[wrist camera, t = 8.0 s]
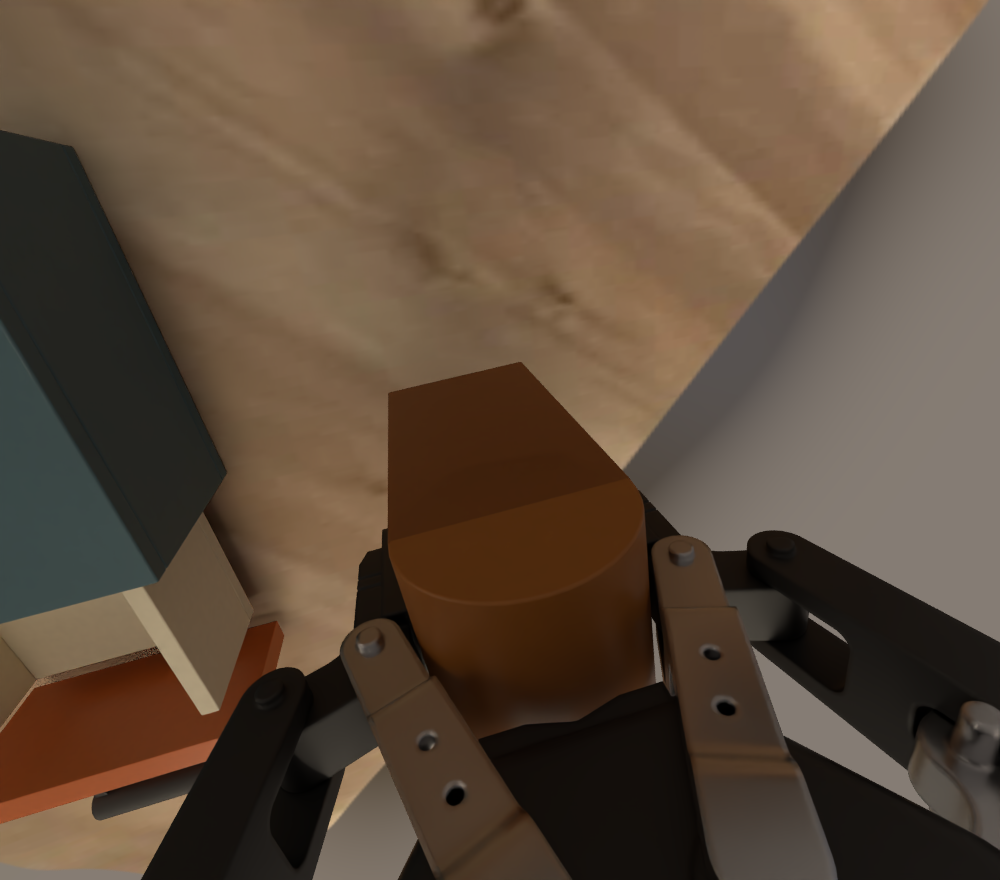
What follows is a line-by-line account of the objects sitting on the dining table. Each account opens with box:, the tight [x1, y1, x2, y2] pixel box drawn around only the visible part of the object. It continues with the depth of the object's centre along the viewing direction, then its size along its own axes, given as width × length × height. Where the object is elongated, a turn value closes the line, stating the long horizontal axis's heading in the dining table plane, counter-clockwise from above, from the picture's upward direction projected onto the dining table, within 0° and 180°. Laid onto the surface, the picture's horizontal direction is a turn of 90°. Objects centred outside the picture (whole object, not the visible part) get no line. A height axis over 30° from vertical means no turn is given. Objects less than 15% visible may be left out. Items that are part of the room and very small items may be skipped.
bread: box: [388, 362, 656, 742], centre depth 14 cm, size 6×5×12 cm
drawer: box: [0, 512, 284, 824], centre depth 23 cm, size 18×13×7 cm
